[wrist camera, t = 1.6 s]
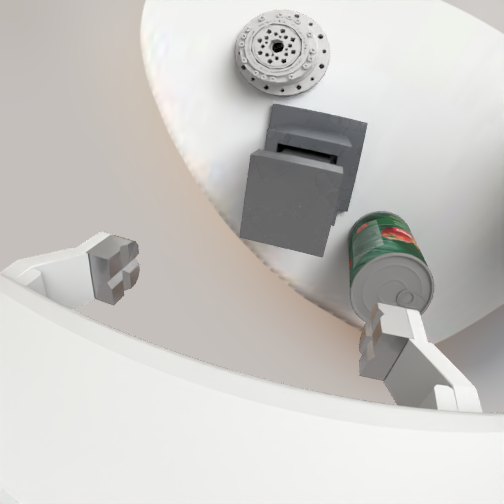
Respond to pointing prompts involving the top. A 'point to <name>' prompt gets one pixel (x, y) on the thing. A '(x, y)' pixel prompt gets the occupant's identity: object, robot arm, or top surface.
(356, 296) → the canned tomato
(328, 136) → the grey hollow housing
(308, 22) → the mechanical component
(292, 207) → the column
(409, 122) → the top surface
